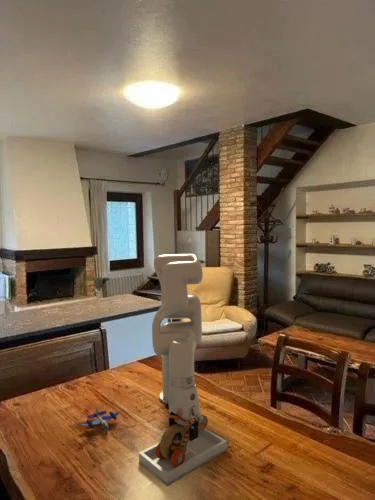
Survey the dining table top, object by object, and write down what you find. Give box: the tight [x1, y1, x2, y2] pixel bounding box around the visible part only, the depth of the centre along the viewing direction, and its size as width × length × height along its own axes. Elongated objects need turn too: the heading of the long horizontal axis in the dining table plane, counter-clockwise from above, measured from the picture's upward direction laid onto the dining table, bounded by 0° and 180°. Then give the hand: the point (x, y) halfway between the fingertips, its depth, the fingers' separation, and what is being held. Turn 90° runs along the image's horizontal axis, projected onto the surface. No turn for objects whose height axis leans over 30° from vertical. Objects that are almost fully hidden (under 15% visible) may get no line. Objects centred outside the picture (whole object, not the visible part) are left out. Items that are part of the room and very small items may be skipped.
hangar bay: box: [138, 427, 228, 487], centre depth 117 cm, size 24×14×3 cm, turn 131°
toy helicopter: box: [155, 413, 209, 468], centre depth 118 cm, size 8×21×14 cm, turn 139°
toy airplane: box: [81, 406, 120, 434], centre depth 134 cm, size 13×14×4 cm
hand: (183, 432), depth 117 cm, fingers open, 9 cm apart
